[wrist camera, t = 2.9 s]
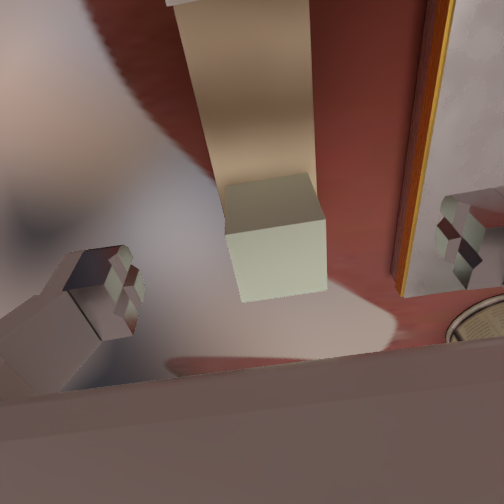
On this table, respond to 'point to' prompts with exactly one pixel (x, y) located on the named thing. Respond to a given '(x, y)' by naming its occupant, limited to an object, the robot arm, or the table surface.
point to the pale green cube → (276, 237)
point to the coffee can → (479, 321)
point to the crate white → (177, 2)
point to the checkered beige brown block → (252, 86)
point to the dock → (450, 133)
